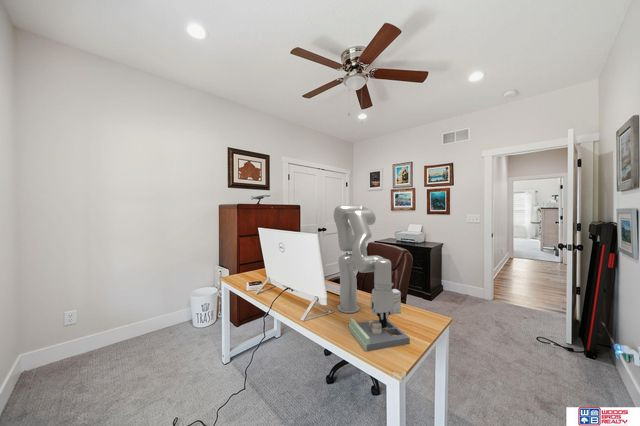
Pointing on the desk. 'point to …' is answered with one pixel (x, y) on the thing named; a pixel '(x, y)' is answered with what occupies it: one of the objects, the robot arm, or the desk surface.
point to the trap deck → (377, 336)
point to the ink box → (397, 300)
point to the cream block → (375, 327)
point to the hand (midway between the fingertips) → (383, 326)
